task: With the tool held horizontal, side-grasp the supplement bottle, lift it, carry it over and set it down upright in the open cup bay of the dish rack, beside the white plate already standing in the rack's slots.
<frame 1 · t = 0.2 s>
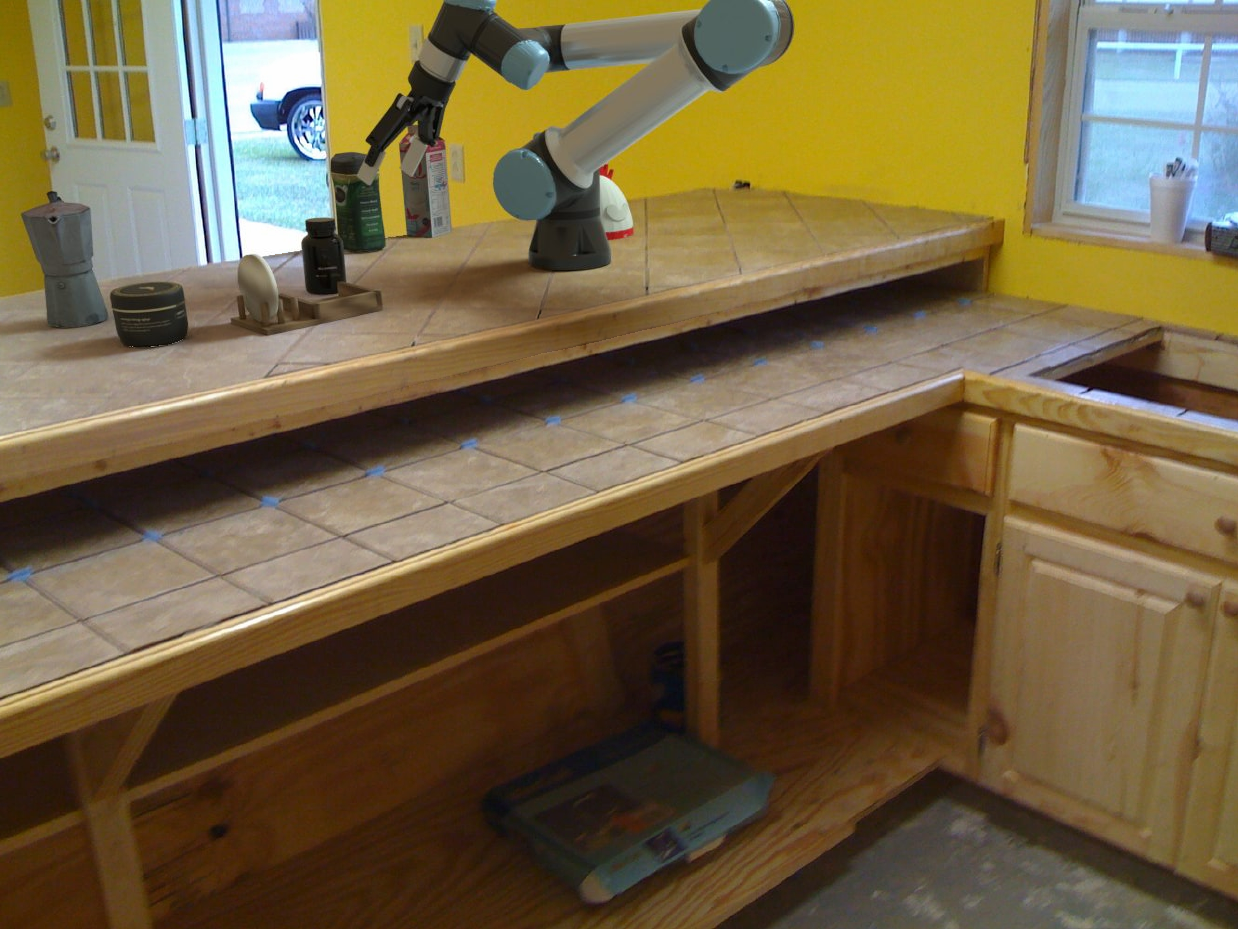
hand: (385, 176, 209), 16 cm above the table, tool tilted 35°, fingers open, 13 cm apart
jar: (155, 341, 173), on the table
dish rack: (308, 316, 184), on the table
kitchen timer: (599, 235, 244), on the table
moka pot: (77, 322, 184), on the table
coffee jar: (362, 250, 234), on the table
supplement bottle: (327, 292, 200), on the table
juice carton: (429, 234, 248), on the table
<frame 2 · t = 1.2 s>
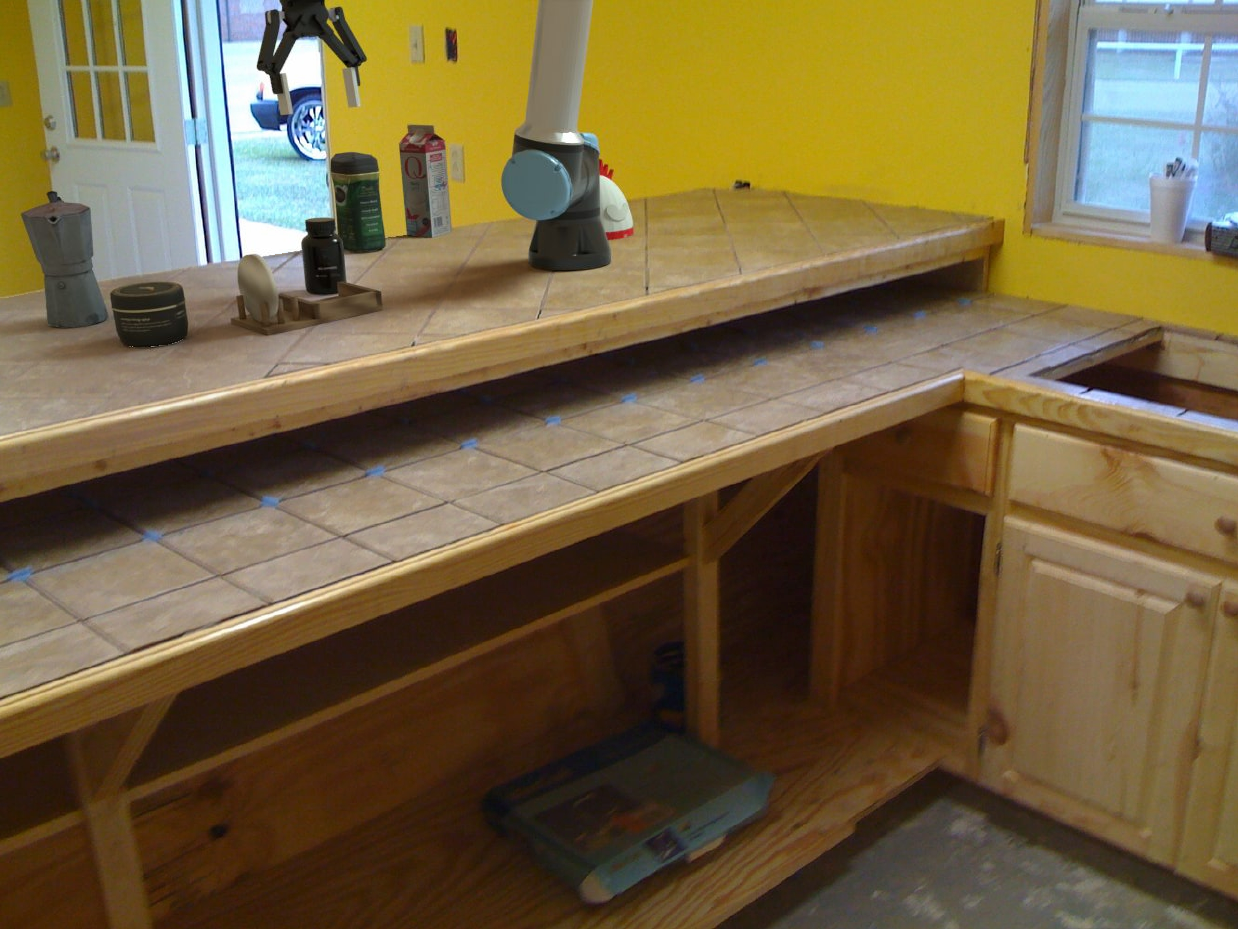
hand: (321, 110, 203), 28 cm above the table, tool pointing down, fingers open, 13 cm apart
nothing on the table moved.
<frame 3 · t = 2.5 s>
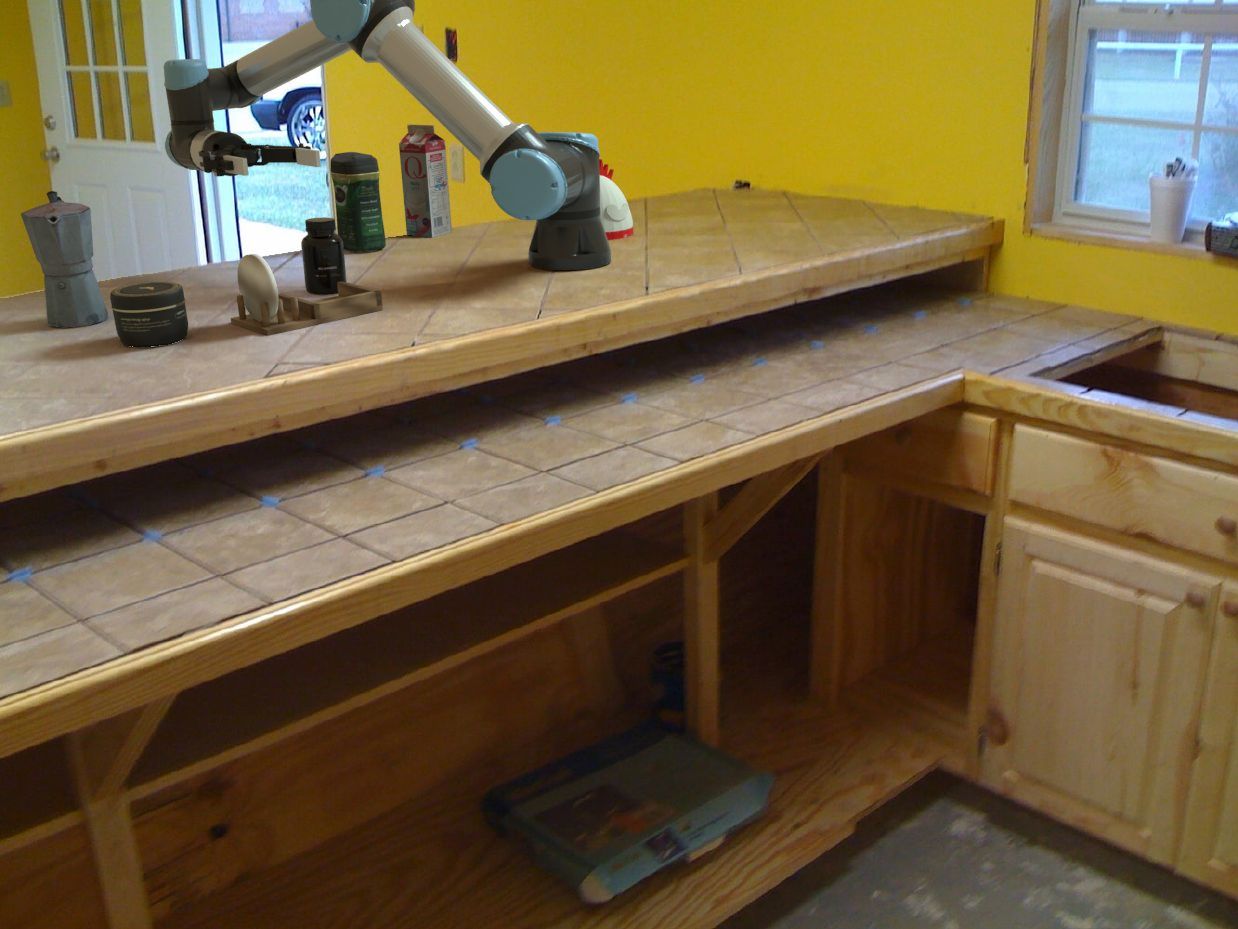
hand: (282, 162, 199), 20 cm above the table, tool horizontal, fingers open, 13 cm apart
nothing on the table moved.
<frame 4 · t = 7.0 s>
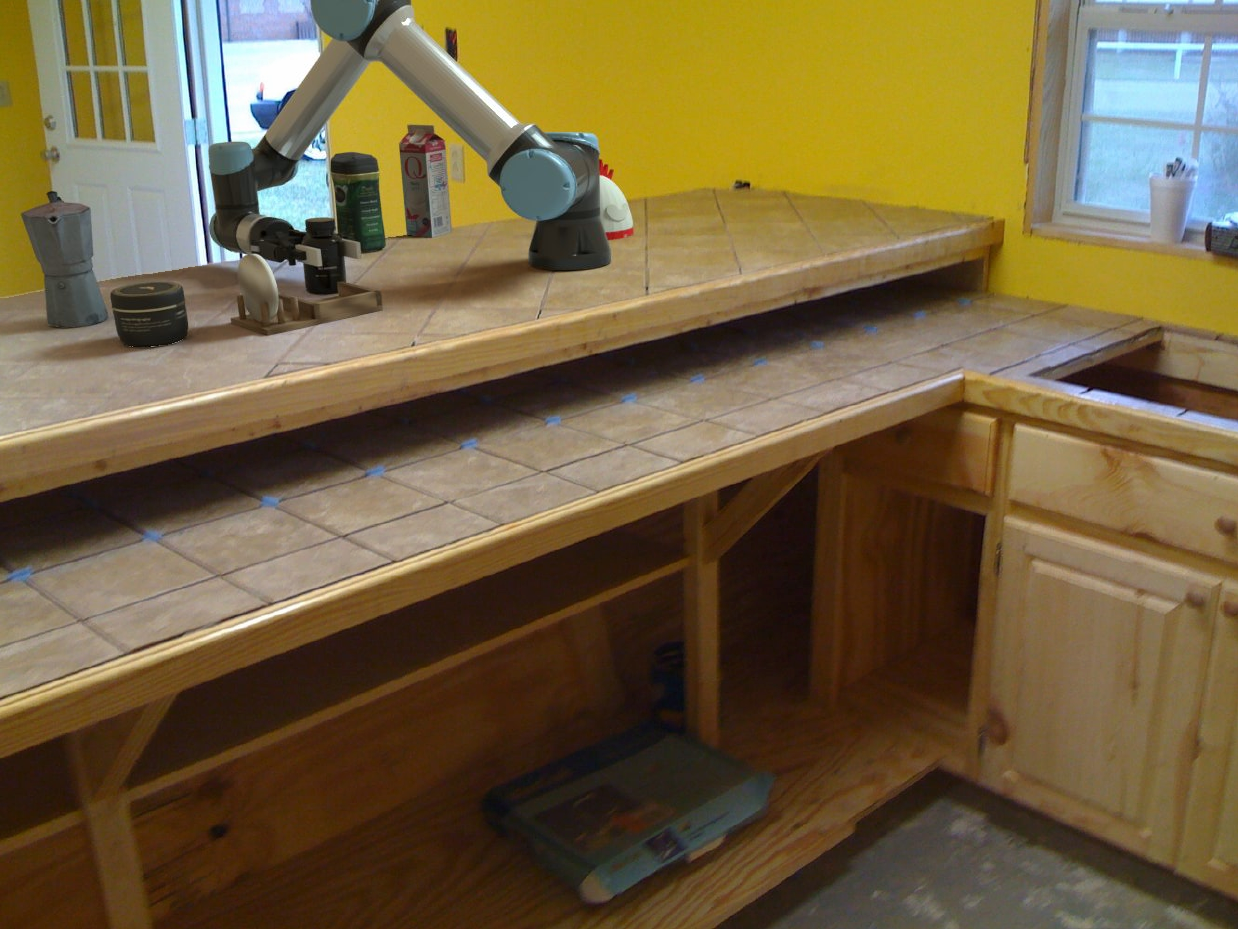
hand: (339, 254, 194), 7 cm above the table, tool horizontal, fingers closed on supplement bottle, 7 cm apart
supplement bottle: (327, 292, 200), on the table, touching gripper
everything else where it was.
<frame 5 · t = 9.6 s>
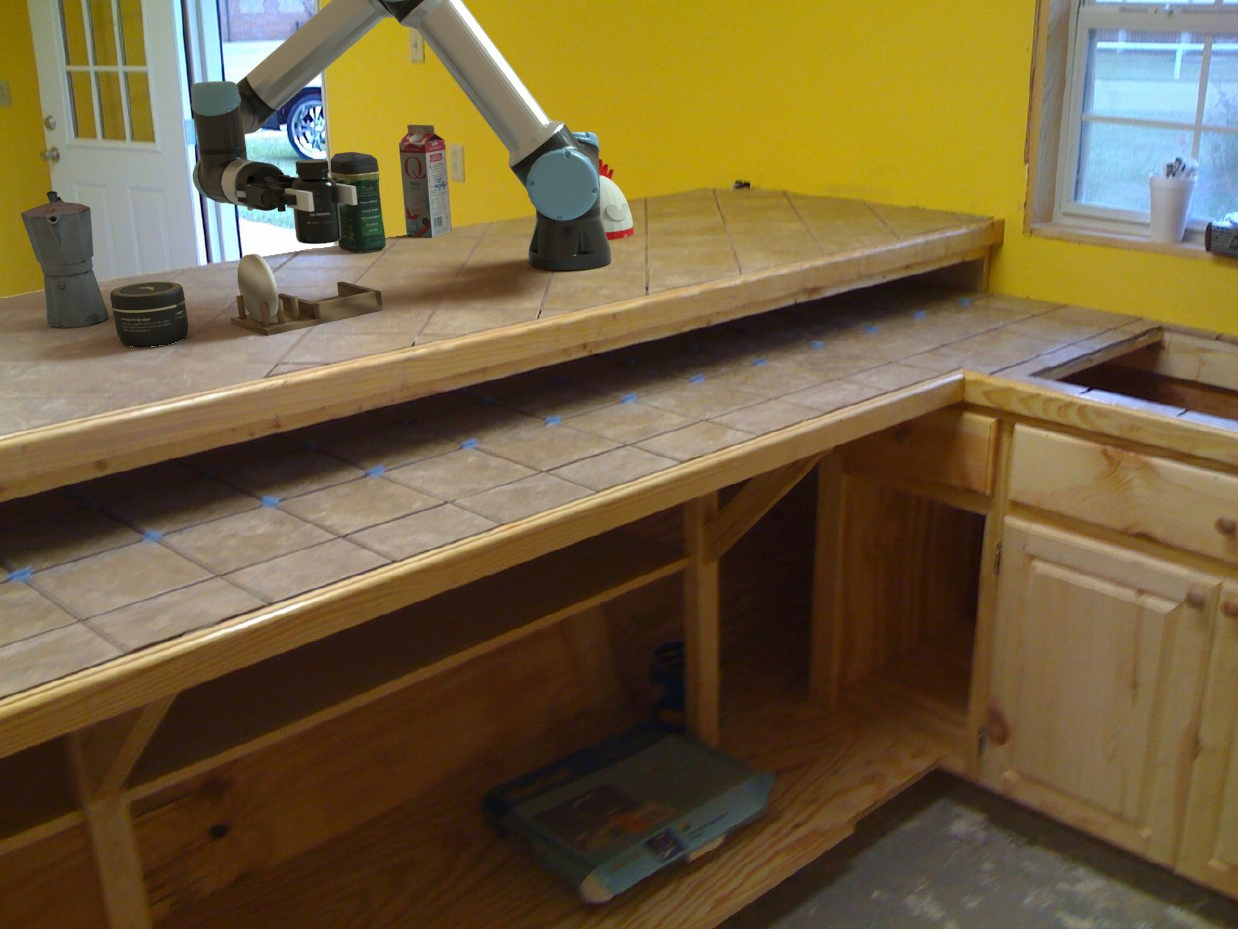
hand: (332, 198, 177), 18 cm above the table, tool horizontal, fingers closed on supplement bottle, 7 cm apart
supplement bottle: (320, 241, 183), point 11 cm above the table, touching gripper
everything else where it was.
when the fingers open (9 cm above the table, at t = 12.0 s): supplement bottle drops 1 cm, resting on dish rack.
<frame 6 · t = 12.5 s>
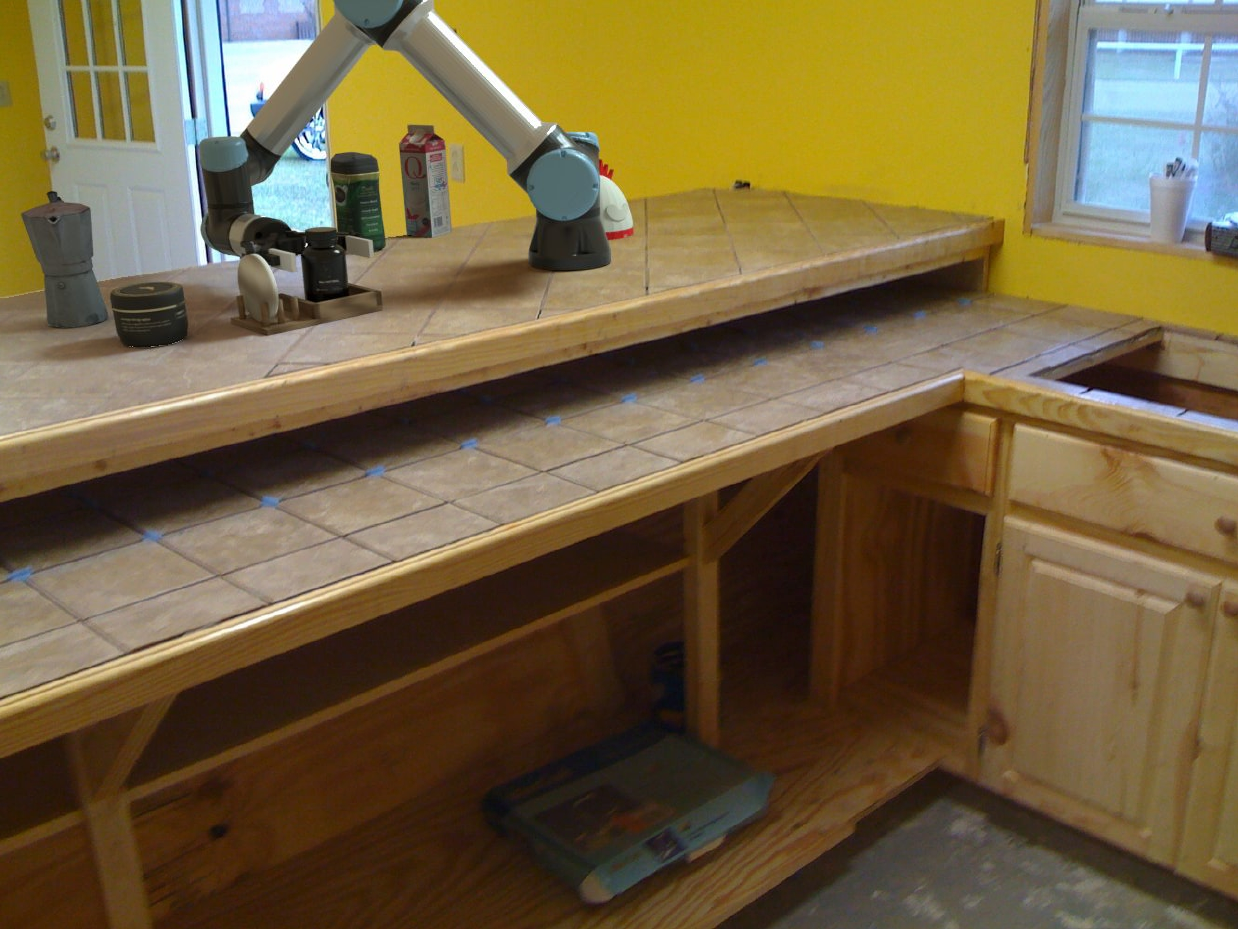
hand: (333, 256, 181), 9 cm above the table, tool horizontal, fingers open, 13 cm apart
supplement bottle: (328, 307, 186), point 1 cm above the table, touching dish rack
everything else where it was.
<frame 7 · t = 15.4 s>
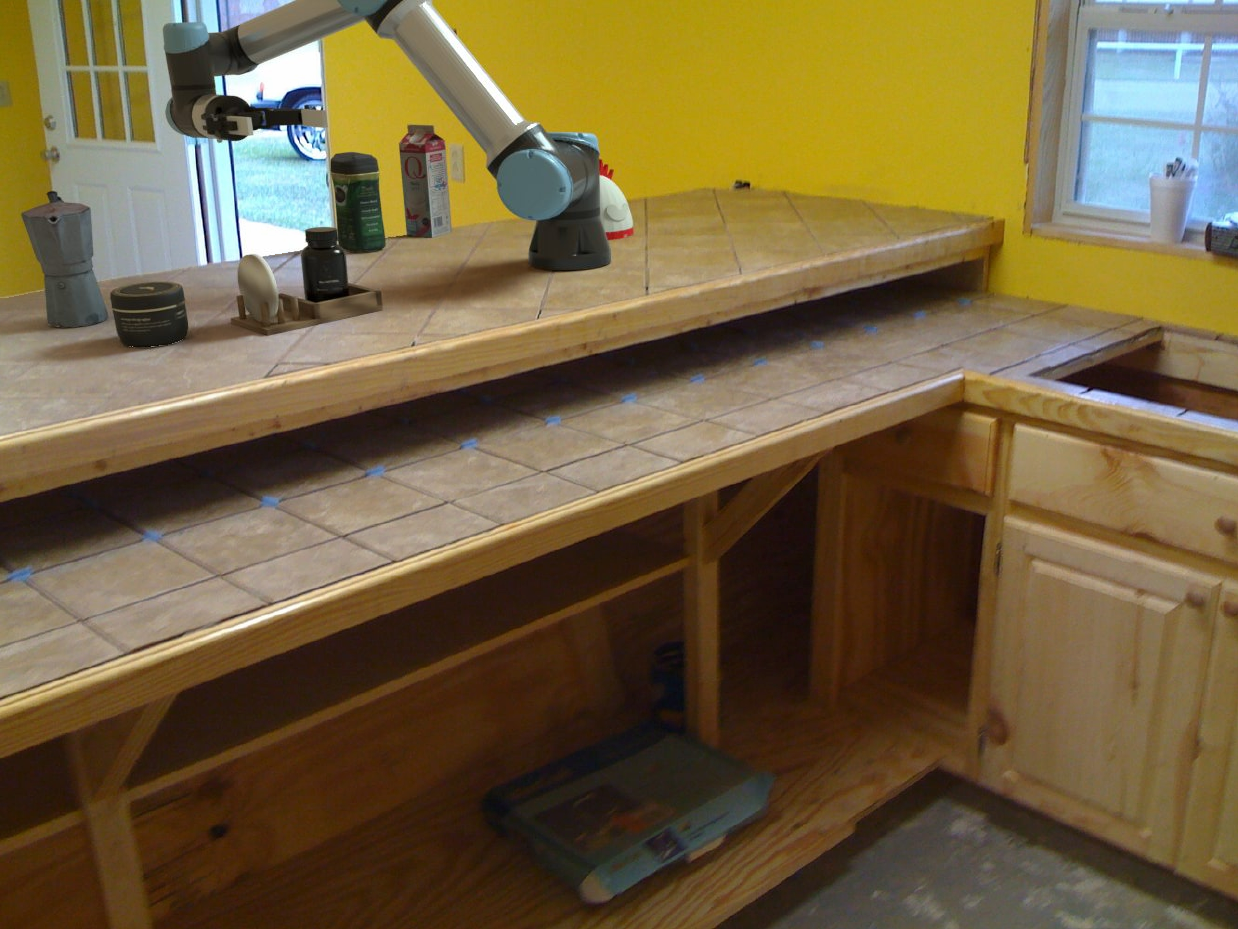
hand: (288, 122, 191), 27 cm above the table, tool horizontal, fingers open, 13 cm apart
nothing on the table moved.
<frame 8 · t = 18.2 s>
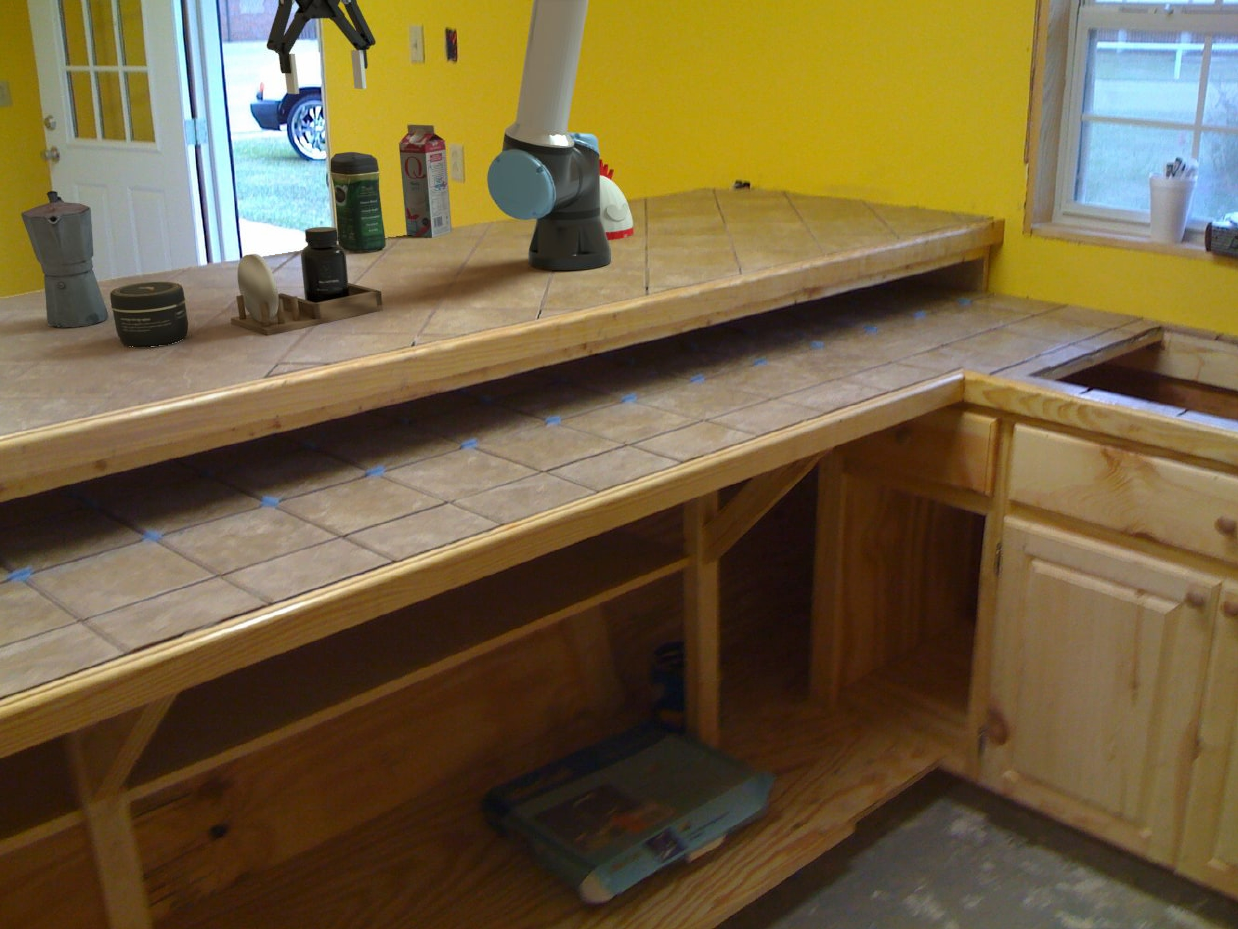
hand: (327, 91, 209), 31 cm above the table, tool pointing down, fingers open, 13 cm apart
nothing on the table moved.
at the end: supplement bottle inside the target area (0.2 cm from its centre), point 0.6 cm above the table; supplement bottle tilted 0°; the gripper is holding nothing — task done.
